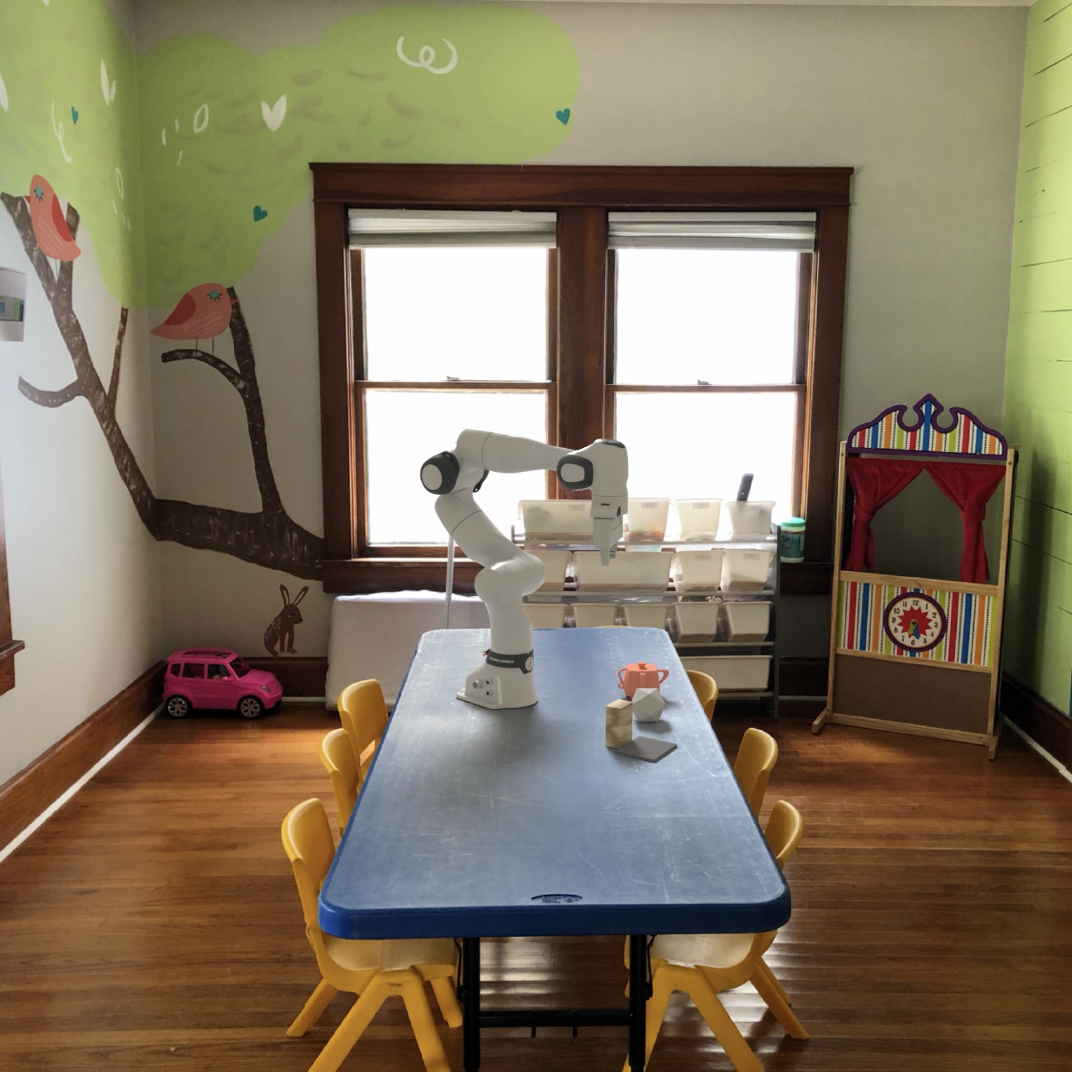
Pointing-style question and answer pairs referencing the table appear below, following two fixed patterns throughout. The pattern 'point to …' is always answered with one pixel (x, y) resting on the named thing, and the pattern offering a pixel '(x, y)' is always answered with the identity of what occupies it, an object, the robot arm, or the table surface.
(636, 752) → the rubber mat
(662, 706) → the die
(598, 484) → the robot arm
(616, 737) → the maple block
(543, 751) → the table surface
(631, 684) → the teapot
